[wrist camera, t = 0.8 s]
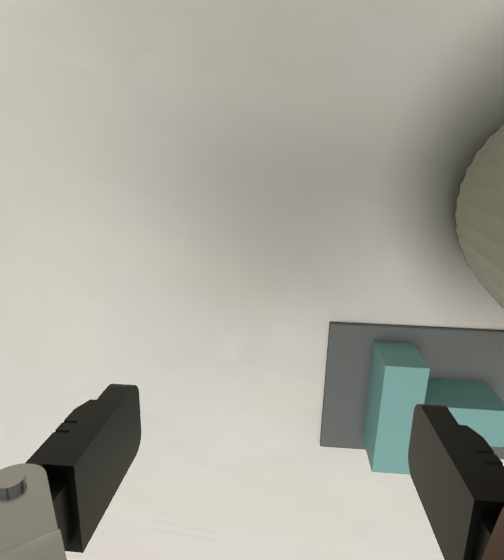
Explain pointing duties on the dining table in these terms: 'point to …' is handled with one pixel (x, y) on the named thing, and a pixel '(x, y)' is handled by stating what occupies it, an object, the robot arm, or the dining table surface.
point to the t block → (419, 390)
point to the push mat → (433, 348)
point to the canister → (484, 215)
